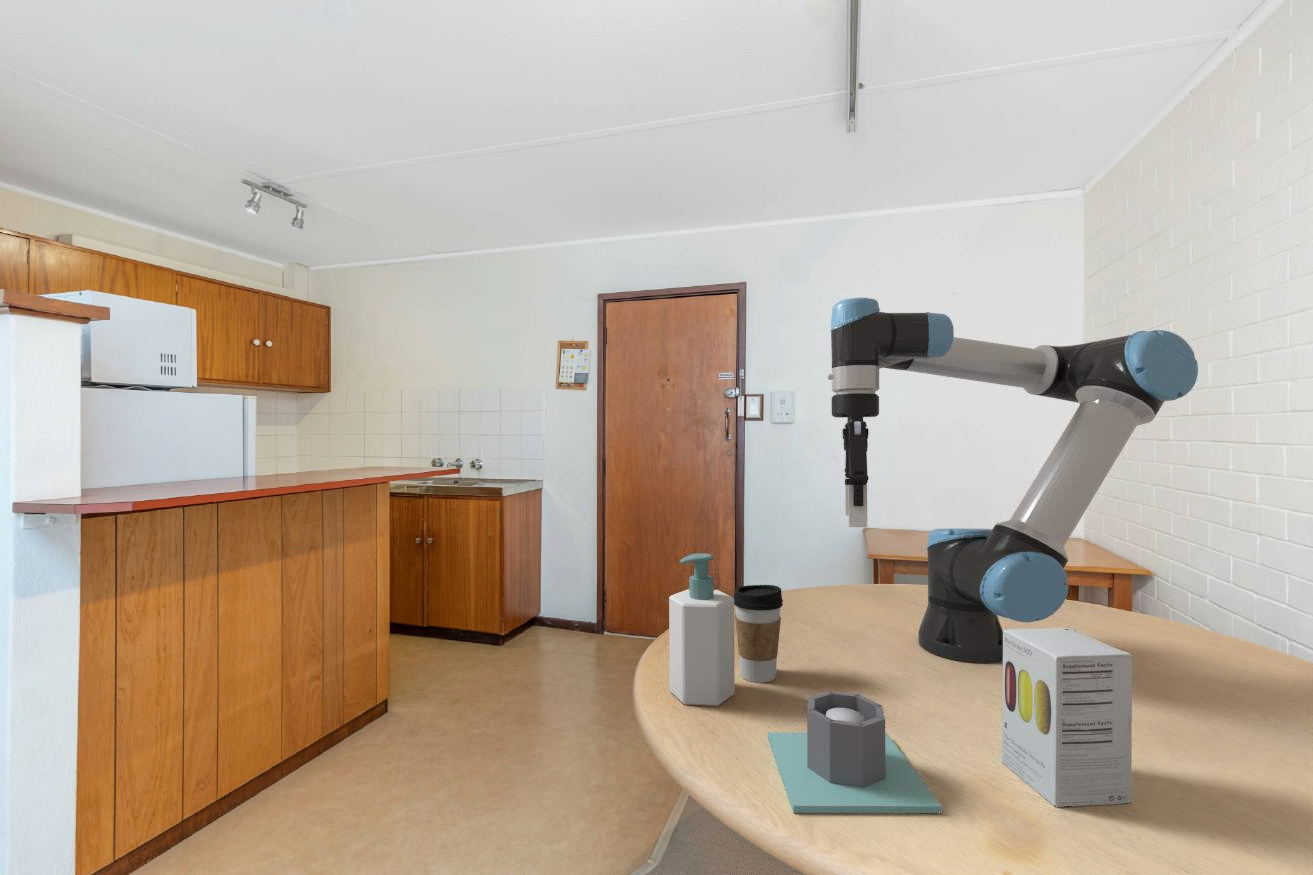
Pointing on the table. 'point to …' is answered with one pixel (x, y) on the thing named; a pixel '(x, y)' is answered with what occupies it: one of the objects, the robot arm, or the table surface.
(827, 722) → the hollow octagonal tube
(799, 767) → the teal base with peg
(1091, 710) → the supplement box
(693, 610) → the soap bottle
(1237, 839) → the table surface
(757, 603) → the coffee cup
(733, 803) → the table surface
